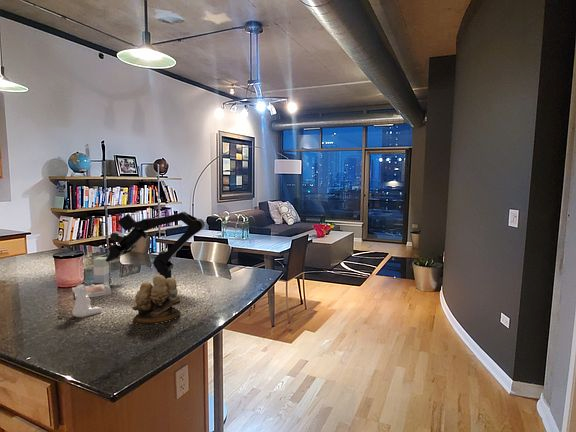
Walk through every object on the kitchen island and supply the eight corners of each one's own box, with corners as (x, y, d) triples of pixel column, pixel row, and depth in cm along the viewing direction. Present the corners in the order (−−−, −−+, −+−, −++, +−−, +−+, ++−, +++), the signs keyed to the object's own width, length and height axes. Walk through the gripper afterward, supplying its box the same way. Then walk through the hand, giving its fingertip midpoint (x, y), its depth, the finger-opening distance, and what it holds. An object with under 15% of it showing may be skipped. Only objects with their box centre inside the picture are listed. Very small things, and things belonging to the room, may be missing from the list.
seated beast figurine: (103, 312, 138) (102, 282, 137) (85, 320, 130) (84, 288, 128) (83, 309, 140) (82, 279, 139) (64, 317, 132) (63, 285, 131)
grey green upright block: (109, 280, 180) (108, 257, 178) (104, 283, 175) (103, 259, 173) (99, 280, 179) (98, 256, 178) (94, 283, 174) (93, 259, 173)
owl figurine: (179, 309, 143) (179, 268, 141) (186, 319, 133) (186, 275, 131) (130, 316, 134) (130, 272, 132) (135, 328, 124) (134, 281, 122)
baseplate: (108, 285, 170) (108, 282, 170) (111, 294, 159) (111, 290, 158) (75, 289, 163) (74, 285, 163) (75, 299, 151) (74, 294, 151)
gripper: (129, 223, 184) (108, 244, 184) (112, 228, 165) (88, 251, 166) (144, 239, 185) (123, 259, 185) (129, 245, 166) (106, 268, 167)
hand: (111, 259), depth 176 cm, fingers open, 9 cm apart
